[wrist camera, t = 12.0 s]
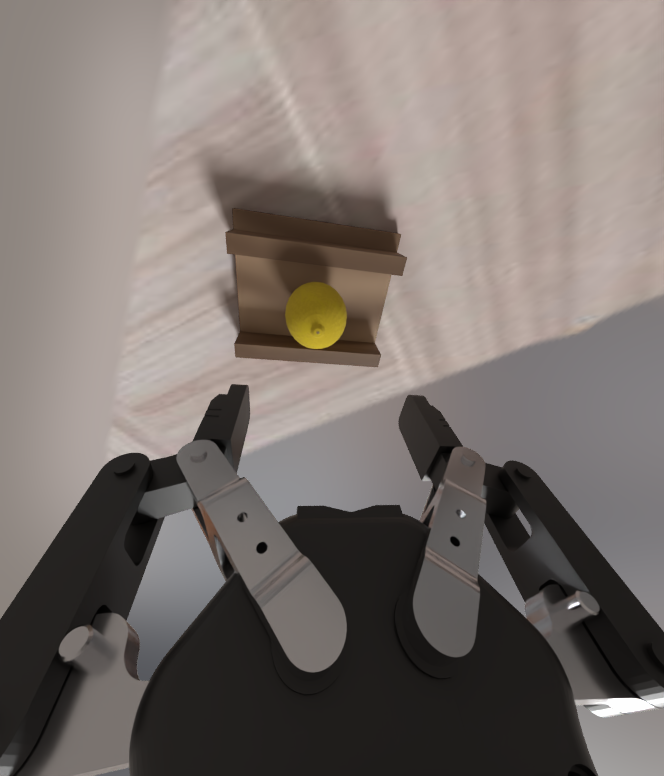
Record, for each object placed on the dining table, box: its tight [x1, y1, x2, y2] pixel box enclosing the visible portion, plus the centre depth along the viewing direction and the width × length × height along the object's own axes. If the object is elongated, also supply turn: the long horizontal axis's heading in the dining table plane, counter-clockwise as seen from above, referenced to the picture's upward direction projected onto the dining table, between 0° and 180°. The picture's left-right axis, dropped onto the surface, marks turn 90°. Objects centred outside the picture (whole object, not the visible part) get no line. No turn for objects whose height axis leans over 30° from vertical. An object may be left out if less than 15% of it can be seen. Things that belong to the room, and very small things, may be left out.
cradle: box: [225, 208, 407, 367], centre depth 26 cm, size 14×15×4 cm
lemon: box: [285, 282, 347, 349], centre depth 24 cm, size 6×6×8 cm
